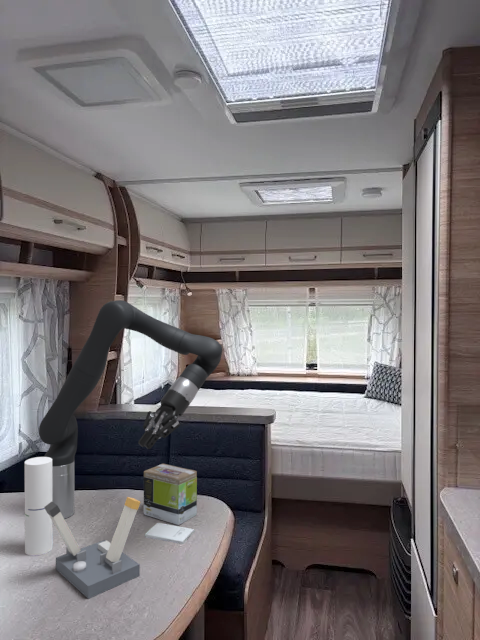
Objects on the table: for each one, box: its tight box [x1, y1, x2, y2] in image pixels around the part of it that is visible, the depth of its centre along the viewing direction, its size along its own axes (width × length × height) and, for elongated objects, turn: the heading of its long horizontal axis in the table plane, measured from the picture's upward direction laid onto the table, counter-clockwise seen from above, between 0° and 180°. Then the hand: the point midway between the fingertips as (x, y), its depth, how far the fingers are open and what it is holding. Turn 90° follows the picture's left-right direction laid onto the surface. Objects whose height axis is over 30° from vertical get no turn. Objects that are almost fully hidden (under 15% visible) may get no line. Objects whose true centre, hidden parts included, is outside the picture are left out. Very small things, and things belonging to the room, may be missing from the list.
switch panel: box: [55, 539, 141, 600], centre depth 125 cm, size 18×14×5 cm
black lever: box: [44, 502, 81, 556], centre depth 124 cm, size 4×2×16 cm, turn 45°
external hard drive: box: [144, 522, 196, 545], centre depth 146 cm, size 2×8×12 cm
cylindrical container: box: [24, 456, 54, 557], centre depth 136 cm, size 7×7×25 cm
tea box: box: [143, 463, 198, 526], centre depth 159 cm, size 15×10×15 cm
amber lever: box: [104, 496, 141, 567], centre depth 124 cm, size 4×2×16 cm, turn 44°
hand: (143, 446), depth 134 cm, fingers open, 2 cm apart
